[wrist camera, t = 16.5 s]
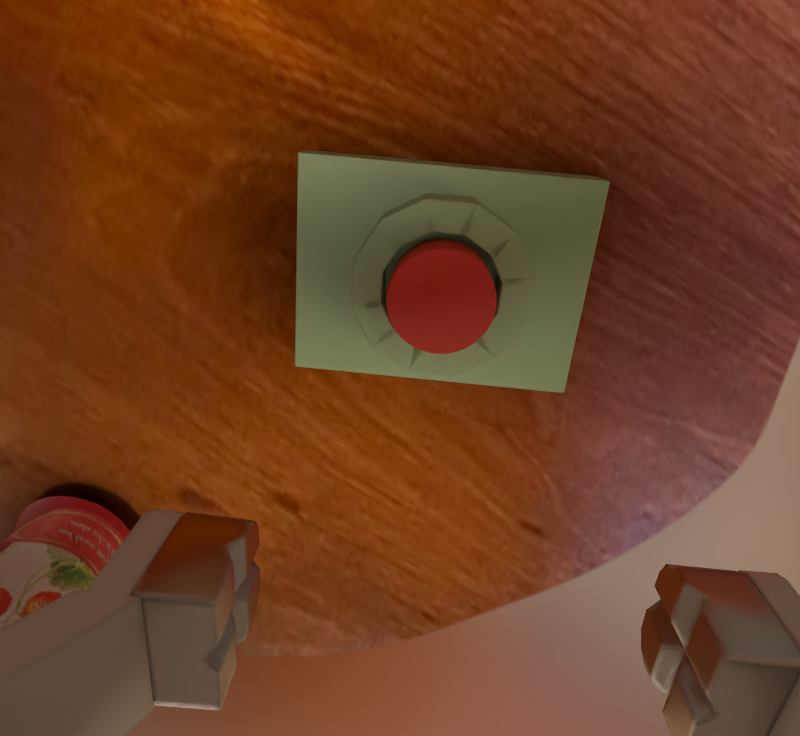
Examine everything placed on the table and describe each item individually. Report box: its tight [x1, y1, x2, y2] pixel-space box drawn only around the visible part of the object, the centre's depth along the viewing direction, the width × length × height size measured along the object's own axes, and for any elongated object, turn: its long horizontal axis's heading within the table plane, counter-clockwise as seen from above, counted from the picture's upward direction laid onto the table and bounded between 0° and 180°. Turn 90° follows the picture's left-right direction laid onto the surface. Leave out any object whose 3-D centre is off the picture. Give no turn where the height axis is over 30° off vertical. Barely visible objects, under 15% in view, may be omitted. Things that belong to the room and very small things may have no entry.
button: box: [386, 239, 497, 354], centre depth 22 cm, size 4×4×2 cm
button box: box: [295, 150, 610, 393], centre depth 24 cm, size 12×9×4 cm
